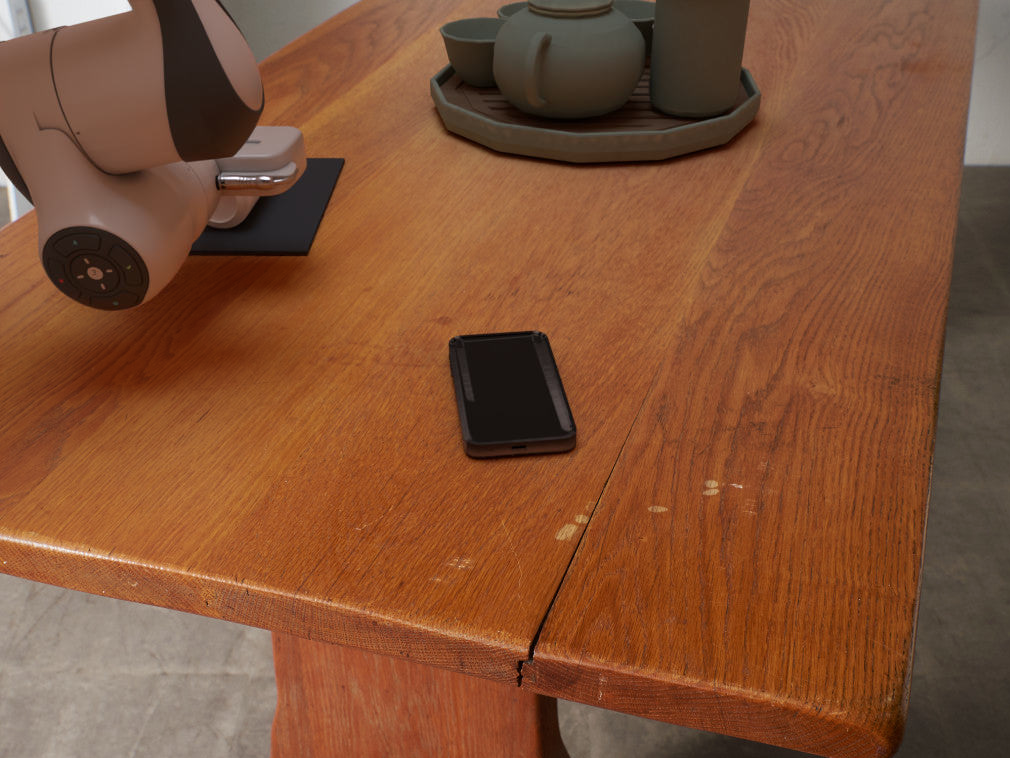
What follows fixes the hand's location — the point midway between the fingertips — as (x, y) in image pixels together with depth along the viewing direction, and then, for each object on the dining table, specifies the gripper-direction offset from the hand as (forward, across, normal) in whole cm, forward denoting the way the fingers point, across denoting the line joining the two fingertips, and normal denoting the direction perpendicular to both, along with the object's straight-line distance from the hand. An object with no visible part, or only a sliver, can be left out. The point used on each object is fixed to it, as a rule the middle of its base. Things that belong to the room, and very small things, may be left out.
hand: (205, 126), depth 91 cm
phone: (-30, -28, +10) cm, 42 cm away
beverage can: (-2, 0, +6) cm, 7 cm away
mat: (+6, 0, +10) cm, 12 cm away
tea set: (+36, -37, +10) cm, 53 cm away
